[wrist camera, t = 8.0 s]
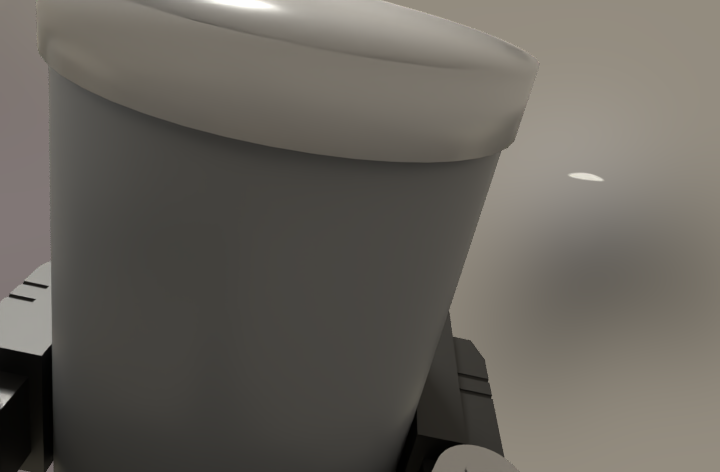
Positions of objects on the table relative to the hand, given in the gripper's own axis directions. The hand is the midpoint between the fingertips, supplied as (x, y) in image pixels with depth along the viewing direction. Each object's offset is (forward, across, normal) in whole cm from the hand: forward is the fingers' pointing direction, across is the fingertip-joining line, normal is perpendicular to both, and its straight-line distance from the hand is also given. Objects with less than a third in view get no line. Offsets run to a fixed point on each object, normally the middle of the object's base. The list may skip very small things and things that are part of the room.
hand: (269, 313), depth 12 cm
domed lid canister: (-3, 0, +8) cm, 8 cm away
